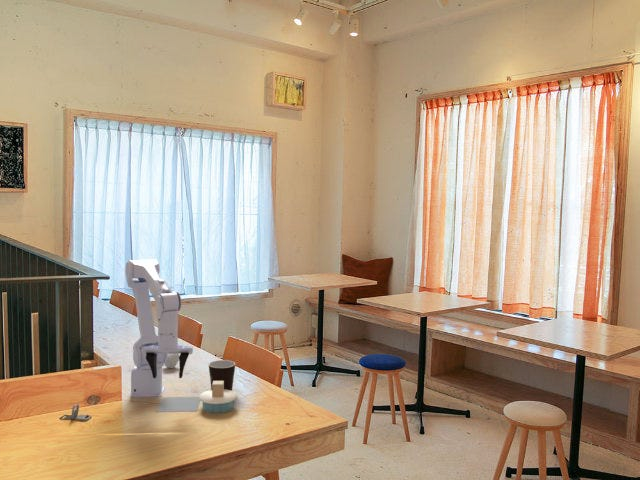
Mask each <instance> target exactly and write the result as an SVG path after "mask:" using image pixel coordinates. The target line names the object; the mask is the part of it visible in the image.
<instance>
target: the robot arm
mask: <svg viewBox="0 0 640 480" xmlns="http://www.w3.org/2000/svg"><path fill="white" fill-rule="evenodd" d="M124 271H125V279H126V283H127V287H128V288H130V289H132V291H133V296H134V301H135V302H134V303H135V307H136V314H137V322H138V329H139V335H140V337H139V338H138V339H137V340H136V341H135V342H134V344H133V347H132V351H133V352H132V359H133V363H134V366H133V367H132V369H131V371H130V372H131V373H130V397H134V398H135V397H136V398H137V397H138V398H139V397H144V398H145V397H161V396H162V395H163V393H164V391H165V389H166V387H165V386H163V367H164V366H165V365H164V363H166V361H167V358H168V354H179V361H178V363H179V369H178V370H179V372H178V378H179V379H182V377H183V376H184V369H185V367H186V363H187V360H188V358H189V355H193V353H194V346H192V345H180V344H179V341H178V340H179V337H178V336H179V334H178V333H179V312H180V310H181V309H182V297H181V295H180V293H179V292H178V291H174V290H172V289H171V287H170V285H169V284H168V282H167V281H166V280H165V279H162V278H161V277H160V262H159V261H158V259H156V258H153V259H137V260H136V259H135V260H133V259H132V260H131V259H129V260H127V262H126V263H125V269H124ZM150 295H151V296H152V298H153V300H154V307H155V313H156V318H157V334H156V329H155V321H154V315H153V310H152V309H153V308H152V302H151V296H150Z"/></svg>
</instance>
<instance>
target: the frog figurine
mask: <svg viewBox="0 0 640 480" xmlns="http://www.w3.org/2000/svg"><path fill="white" fill-rule="evenodd" d="M179 356H180V354H168V358H167V361H166V363H164V366H165V367H166V368H167V369H174V368H175V367H176V366H177V365H178V363H179Z"/></svg>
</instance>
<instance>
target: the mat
mask: <svg viewBox="0 0 640 480" xmlns="http://www.w3.org/2000/svg"><path fill="white" fill-rule="evenodd" d="M200 403H201V400H200V396H163V397H162V399H161V401H160V402H159V405H158V407H157V409H156V410H155V412H156V413H169V412H170V413H176V412H179V413H181V412H189V413H190V412H192V413H193V412H198V409H199V406H200Z"/></svg>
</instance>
